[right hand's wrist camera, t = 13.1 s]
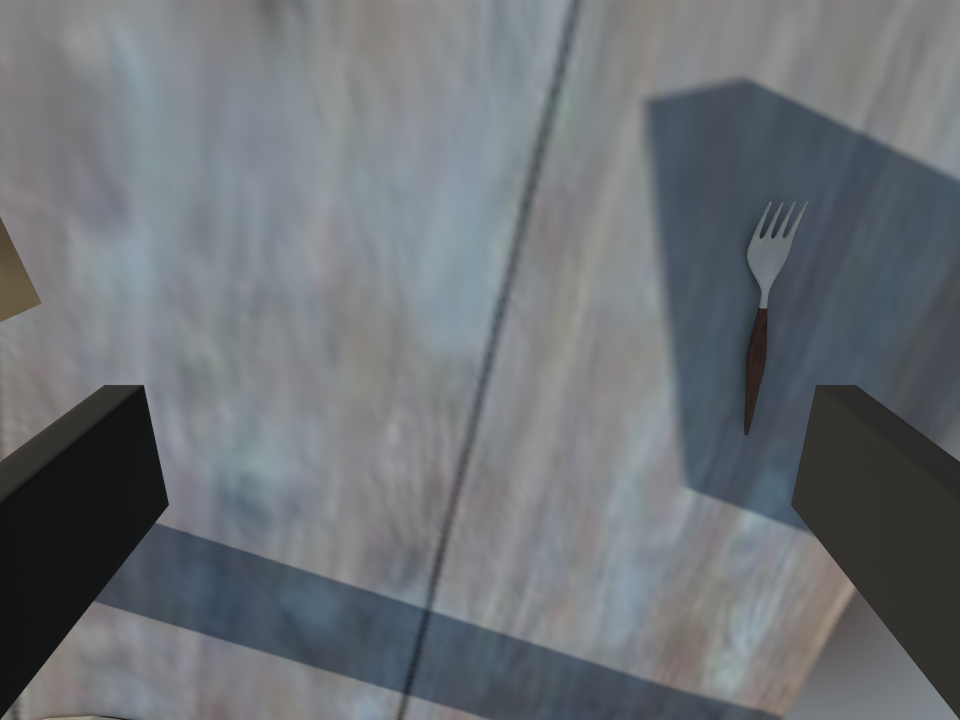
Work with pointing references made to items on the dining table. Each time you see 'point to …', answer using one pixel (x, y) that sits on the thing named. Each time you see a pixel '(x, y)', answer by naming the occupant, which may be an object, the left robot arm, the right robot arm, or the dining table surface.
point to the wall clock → (82, 718)
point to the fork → (764, 296)
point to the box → (13, 280)
